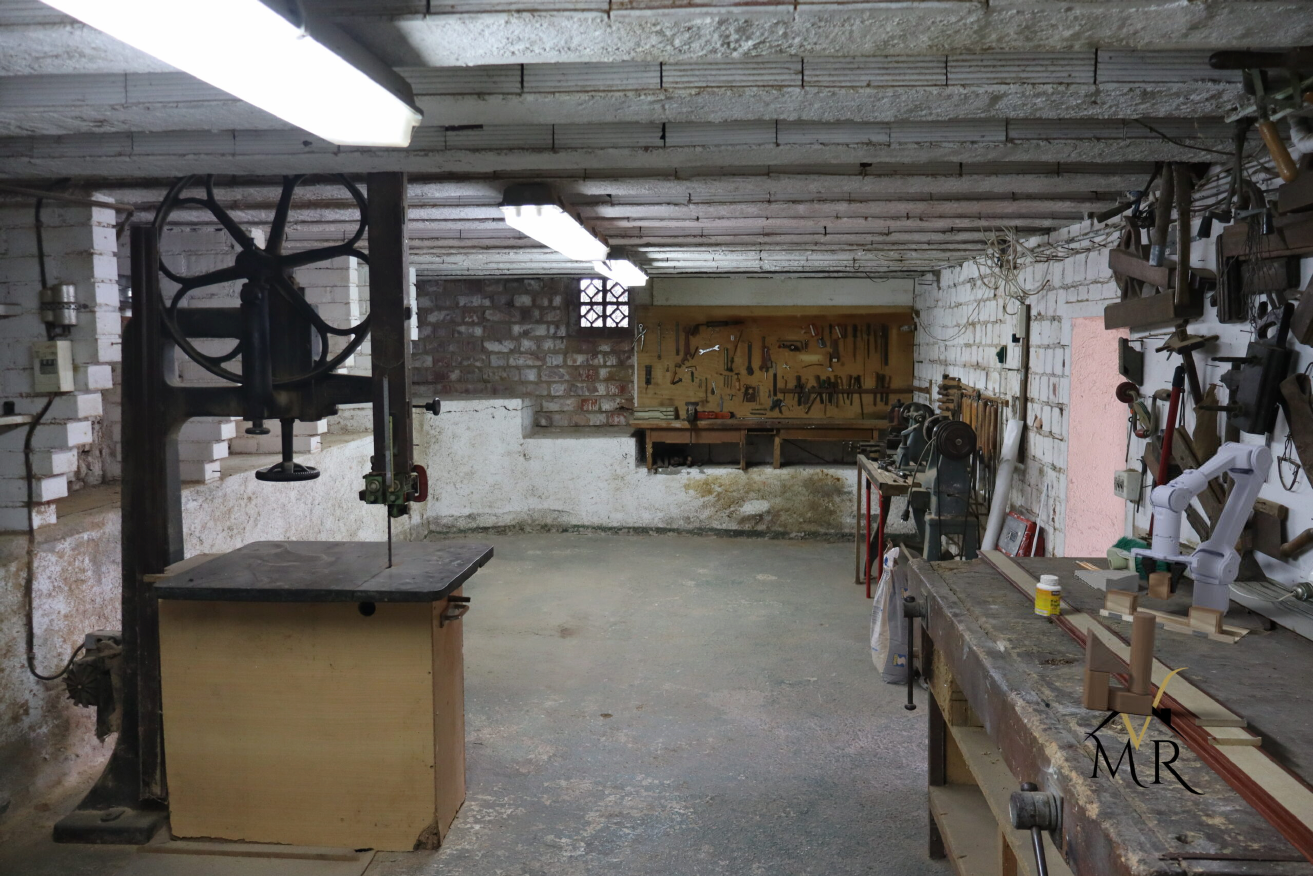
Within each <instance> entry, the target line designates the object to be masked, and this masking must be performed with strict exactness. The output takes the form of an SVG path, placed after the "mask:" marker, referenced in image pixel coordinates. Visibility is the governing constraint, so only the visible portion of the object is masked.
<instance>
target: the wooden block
mask: <svg viewBox="0 0 1313 876" xmlns="http://www.w3.org/2000/svg"><path fill="white" fill-rule="evenodd" d="M1155 626H1156V615H1155V614H1153V613H1150V612H1144V611H1136V612H1134V613H1133V622H1132V625H1131V639H1130V649H1129V650H1130V652H1129V664H1128V665H1129V666H1128V667H1127V666H1126V665H1125V664H1124V663H1123V661H1121V659H1119V658H1118V656H1117V655H1116V654H1115V653H1114V652H1113V651H1112V650H1111V649H1110V648H1109V647H1108V646H1107V644H1105V643H1104V641H1103V640H1102V639H1101V638H1100V637H1099V636H1098V635H1097V634H1096V633H1095V632H1094V631H1093V629H1091V628H1090V627H1089V626H1087V631H1086V643H1085V653H1084V655H1085V657H1084V670H1083V681H1082V682H1083V686H1082V697H1081V702H1082V704H1083V705H1084V707H1085V709H1087V710H1088V709H1089V710H1095V711H1096V710H1097V711H1104V712H1106V711H1107V710H1108V709H1110V710H1112V711H1115V712H1118V713H1124V714H1135V715H1141V716H1142V715H1143V716H1152V713H1153V701H1154V700H1153V699H1154V697H1153V695H1152V694H1151V685H1152V674H1153V673H1152V672H1153V661H1154V649H1155V639H1156V638H1155V637H1156V636H1155V635H1156V627H1155ZM1111 673H1114V674H1124V675H1128V676H1127V687H1124V686H1123V687H1122V686H1115V685H1114V686H1113V685H1110V680H1111V679H1110V677H1111V676H1110V675H1111Z"/></svg>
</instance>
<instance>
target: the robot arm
mask: <svg viewBox="0 0 1313 876" xmlns="http://www.w3.org/2000/svg"><path fill="white" fill-rule="evenodd" d="M1273 463H1274V458H1273V455H1272V451H1271V448H1269V447H1268V446H1267V445H1264V444H1258V445H1257V444H1249V443H1239V442H1235V441H1226V442H1225V443H1223V445H1221V446H1218V449H1217V452H1216V453H1215V455H1213V456H1212V457H1211V458H1210V459H1209V460H1208V461H1206V462H1205V463H1204V464H1203V465H1201V466H1200V467H1199V468H1198V469H1193V468H1192V469H1185V470H1184V471H1183V473H1182V474H1181V475H1178V477H1175V478H1174V479H1172V480H1170V481H1169V482H1168V483H1167V484H1166V485H1163V484H1160V485H1158V486H1156V487H1155V488H1154V489H1152V490H1151V491H1152V492H1151V493H1150V495H1149V496H1148V500H1149V504H1150V505H1151V509H1152V510H1151V511H1152V515H1153V525H1152V540H1151V549H1147V548H1137V547H1133V548H1131V549H1130V557H1133V558H1136V557H1137V558H1141V560H1140V565H1141V568H1142V569H1143V572H1144V574H1145V577H1146V582H1147V586H1148V587H1147V589H1148V590H1149V577H1150V574H1152V573H1154V572H1156V571H1157V566H1158V561H1161V562H1166V563H1172V564H1171V565H1170V573H1171V586H1170V593H1172V594H1174V595H1175V593H1176V592H1177V589H1178V585H1179V583H1180V580H1181V579H1182V577H1183V575H1184V573H1185V572H1186V571H1187V569H1188V572H1189V573H1190V574H1191V578H1192V579H1194V583H1193V593H1192V604H1191V607H1192V606H1194V605H1197V606H1202V607H1207V608H1212V609H1218V610H1223V611H1224V616H1226V615H1227V612H1228V611H1229V609H1230V608H1229V607H1230V606H1229V605H1230V596H1231V595H1230V594H1231V590H1230V585H1232V583H1233V582H1234V581H1235V580H1236V579H1237V577H1238V574H1239V567H1240V564H1241V561H1242V558H1241V556H1240V554H1239V553H1238V551H1237V550H1236V545H1237V543H1238V541H1239V539H1240V537H1241V534H1242V532H1243V530H1244V528H1245V525H1246V523H1247V522H1248V519H1249V516H1250V514H1251V512H1252V511H1253V510H1252V509H1253V507H1254V506H1255V503H1256V500H1257V498H1258V497H1259V494H1260V492H1261V489H1262V487H1263V485H1264V482H1265V480H1266V479H1267V476H1268V474H1269V472H1270V469H1271V468H1272V465H1273ZM1224 472H1227V474H1228V475H1229V477H1231V478H1232V479H1233V480H1234V486H1233V487H1232V490H1231V493H1230V495H1229V497H1228V499H1227V501H1226V504H1225V505H1224V508H1223V509H1222V512H1221V514H1220V517H1219V519H1218V521H1217V523H1216V525H1215V528H1214V530H1213V532H1212V535H1211V537H1210V539H1208V540H1206V541H1203V542H1201V543H1199V544H1198V545H1197V547H1196V548H1195V550H1194V551H1193V552H1192V553H1191V554H1190V555H1185V554H1181V553H1179V551H1180V539H1181V528H1182V527H1181V526H1182V514H1183V513H1182V512H1183V511H1185V510H1186V509H1187V508H1188V506H1189V505H1190V502H1191V501H1192V500H1193V498H1194V497H1196V496H1197V495H1198V494H1200V493H1201V492H1203V491H1204V490H1206V489H1207V488H1208V484H1209V481H1211V480H1213V479H1214V478H1216V477H1218V476H1219V475H1221V474H1223V473H1224Z"/></svg>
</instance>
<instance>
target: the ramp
mask: <svg viewBox="0 0 1313 876" xmlns="http://www.w3.org/2000/svg"><path fill="white" fill-rule="evenodd" d="M1075 575H1077V576H1079V578H1081V579H1082V580H1084V581H1085V582H1087V583H1088V584H1089V585H1091V586H1092V587H1094V588H1095V589H1094V590H1096V589H1100V590H1102V591H1103V592H1105V593H1106V591H1109V590H1111V589H1115V590H1120V591H1125V590H1126V591H1128V592H1129V591H1130V592H1134V591H1138V592H1139V584H1140V582H1139V581H1140V573H1138V572H1136V571H1130V570H1120V569H1119V570H1117V569H1093V568H1091V569H1081V570H1079V569H1077V570H1074V576H1075ZM1089 585H1088V586H1089ZM1092 587H1091V588H1092Z"/></svg>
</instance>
